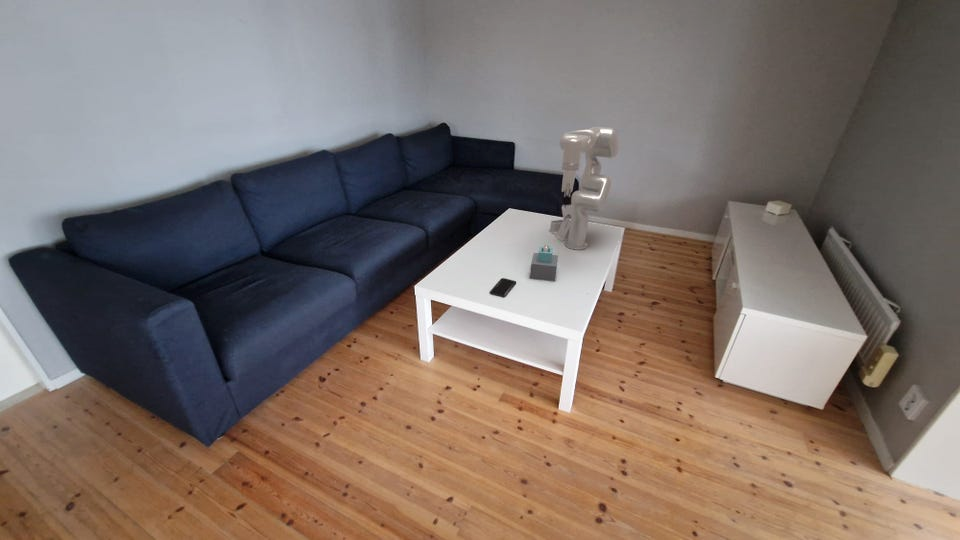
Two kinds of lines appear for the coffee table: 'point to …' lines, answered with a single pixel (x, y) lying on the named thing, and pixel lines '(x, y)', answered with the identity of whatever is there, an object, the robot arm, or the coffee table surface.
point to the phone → (503, 287)
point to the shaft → (545, 248)
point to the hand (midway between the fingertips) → (566, 204)
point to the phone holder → (562, 224)
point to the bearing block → (543, 268)
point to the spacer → (545, 255)
